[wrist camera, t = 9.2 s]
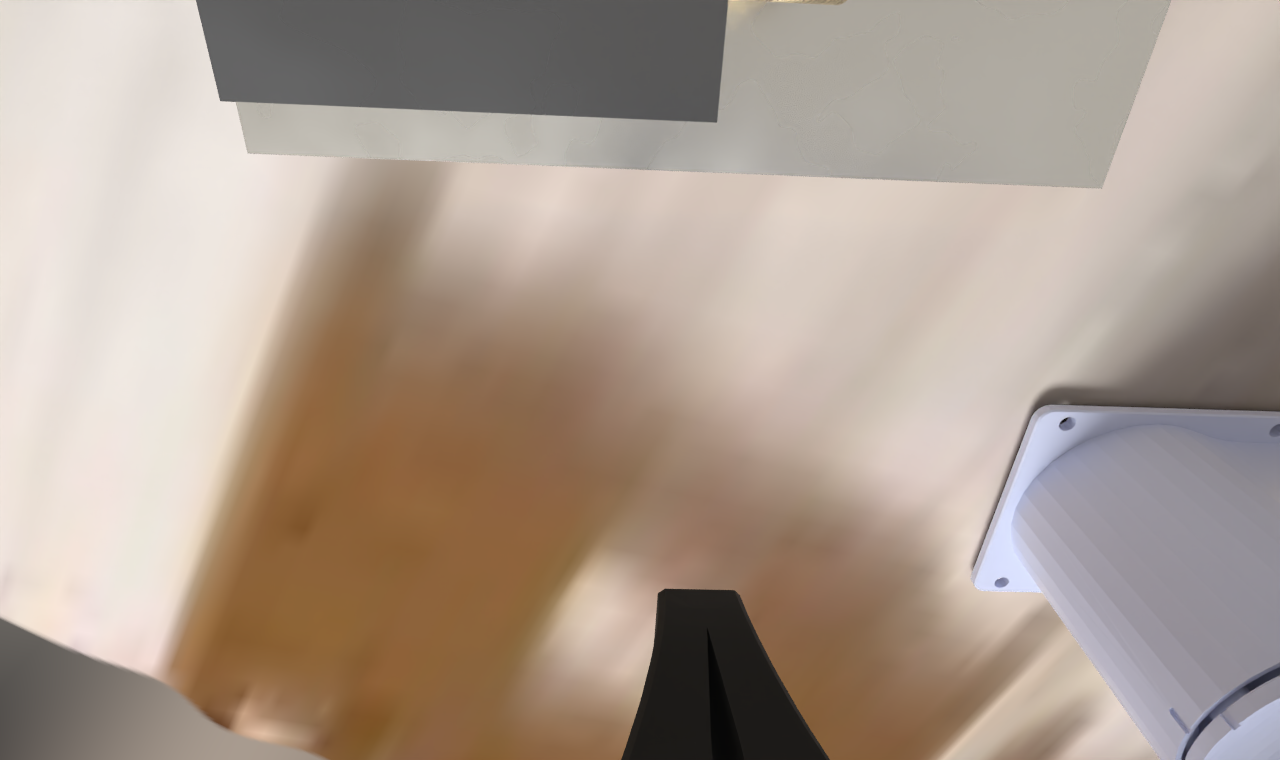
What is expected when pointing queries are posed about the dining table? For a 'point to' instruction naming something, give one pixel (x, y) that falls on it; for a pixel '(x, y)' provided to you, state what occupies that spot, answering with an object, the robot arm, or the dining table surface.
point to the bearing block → (694, 84)
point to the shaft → (808, 1)
